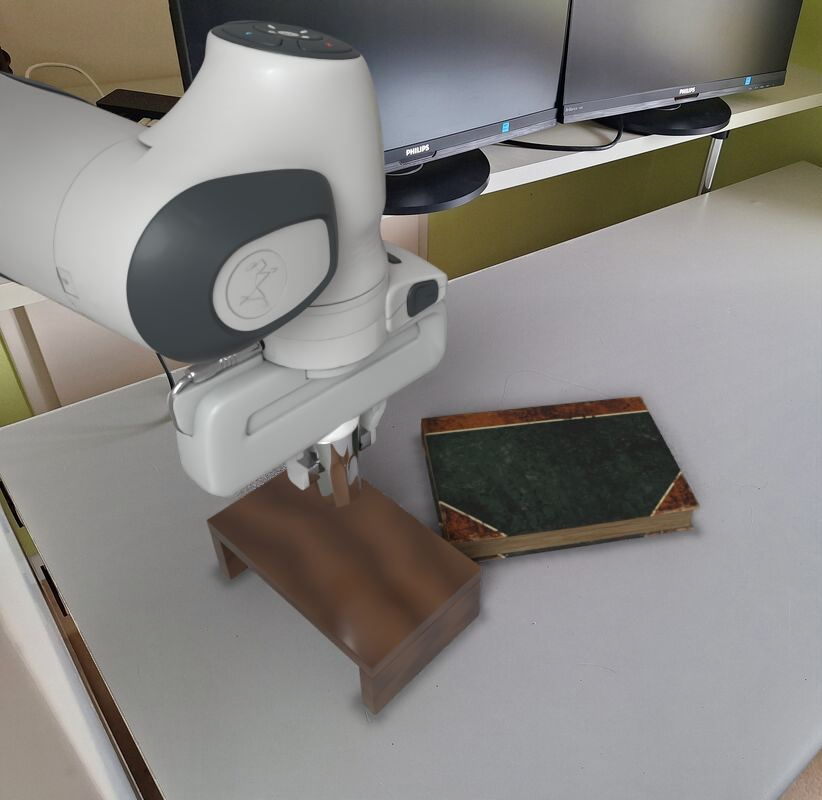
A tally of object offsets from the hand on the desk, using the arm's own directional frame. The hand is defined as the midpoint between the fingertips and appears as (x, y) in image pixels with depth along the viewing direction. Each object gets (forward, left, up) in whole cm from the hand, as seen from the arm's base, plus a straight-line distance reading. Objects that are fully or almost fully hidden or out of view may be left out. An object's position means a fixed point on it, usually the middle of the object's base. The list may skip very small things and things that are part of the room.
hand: (334, 461), depth 56 cm
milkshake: (0, 0, -4) cm, 4 cm away
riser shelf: (0, 0, -17) cm, 17 cm away
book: (+23, -5, -17) cm, 29 cm away
